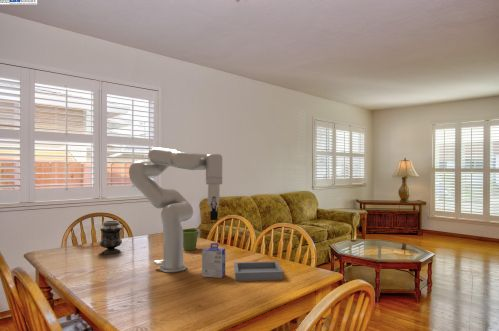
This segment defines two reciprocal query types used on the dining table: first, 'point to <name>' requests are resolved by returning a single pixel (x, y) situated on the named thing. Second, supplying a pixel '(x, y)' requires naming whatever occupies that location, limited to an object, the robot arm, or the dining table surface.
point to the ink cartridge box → (213, 261)
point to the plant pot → (190, 238)
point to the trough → (257, 271)
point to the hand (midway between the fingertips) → (214, 218)
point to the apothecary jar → (110, 236)
